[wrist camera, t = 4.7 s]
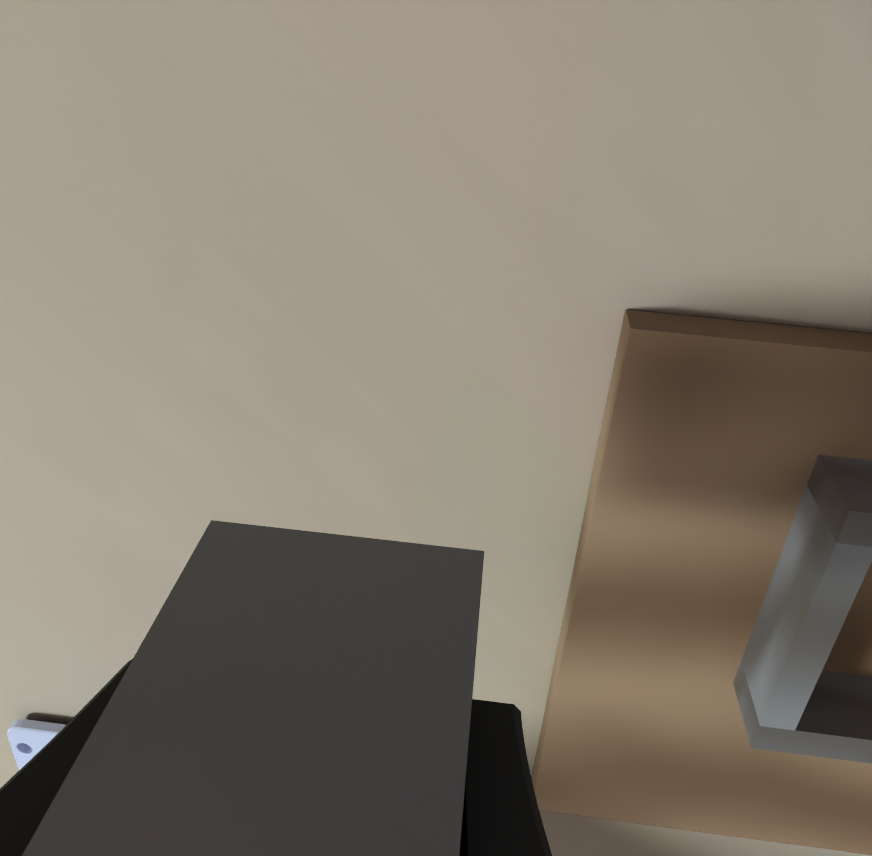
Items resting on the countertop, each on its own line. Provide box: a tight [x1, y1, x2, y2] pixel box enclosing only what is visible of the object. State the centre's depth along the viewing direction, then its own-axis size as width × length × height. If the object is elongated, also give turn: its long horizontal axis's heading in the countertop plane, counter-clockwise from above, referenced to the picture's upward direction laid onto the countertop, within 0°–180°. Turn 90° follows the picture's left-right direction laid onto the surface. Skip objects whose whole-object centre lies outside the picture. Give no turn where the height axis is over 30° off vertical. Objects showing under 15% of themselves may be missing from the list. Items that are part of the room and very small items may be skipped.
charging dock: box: [531, 309, 872, 855], centre depth 19 cm, size 16×14×3 cm
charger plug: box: [22, 520, 484, 856], centre depth 10 cm, size 4×4×7 cm
